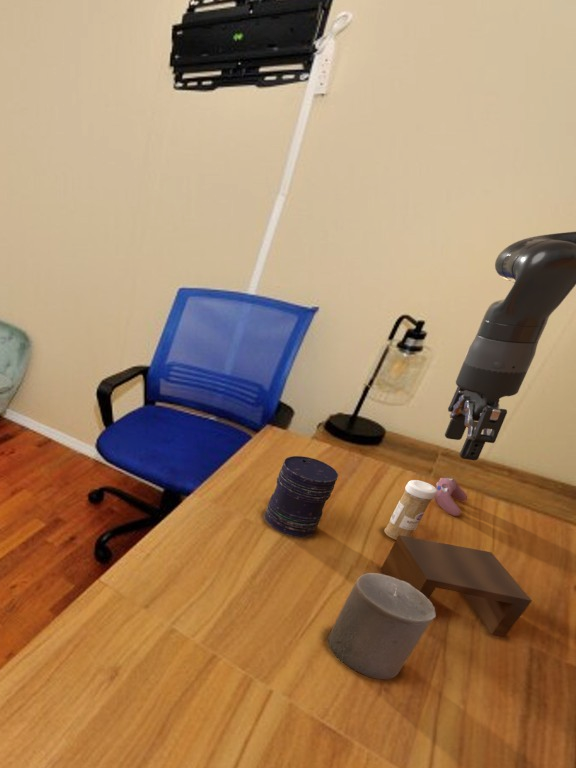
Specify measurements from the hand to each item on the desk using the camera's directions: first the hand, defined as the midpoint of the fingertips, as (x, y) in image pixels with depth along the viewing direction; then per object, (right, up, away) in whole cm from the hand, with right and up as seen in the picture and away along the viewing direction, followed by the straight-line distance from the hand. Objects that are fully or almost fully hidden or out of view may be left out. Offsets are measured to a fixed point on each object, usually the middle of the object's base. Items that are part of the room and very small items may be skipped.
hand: (459, 448), depth 91 cm
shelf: (-1, -29, +3) cm, 29 cm away
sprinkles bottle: (+6, -21, +19) cm, 29 cm away
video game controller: (+26, -16, +28) cm, 42 cm away
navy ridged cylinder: (-15, -19, +23) cm, 33 cm away
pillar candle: (-23, -34, -6) cm, 42 cm away
